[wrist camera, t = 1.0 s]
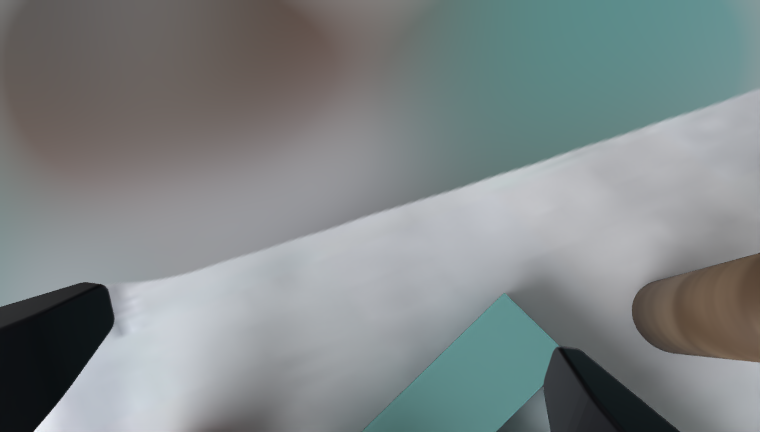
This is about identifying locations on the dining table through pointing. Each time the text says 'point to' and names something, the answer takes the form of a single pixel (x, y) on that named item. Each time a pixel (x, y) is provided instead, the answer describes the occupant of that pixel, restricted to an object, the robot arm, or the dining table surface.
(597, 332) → the dining table surface
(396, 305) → the dining table surface
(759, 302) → the walnut peg
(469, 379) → the socket plate
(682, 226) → the dining table surface
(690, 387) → the dining table surface
